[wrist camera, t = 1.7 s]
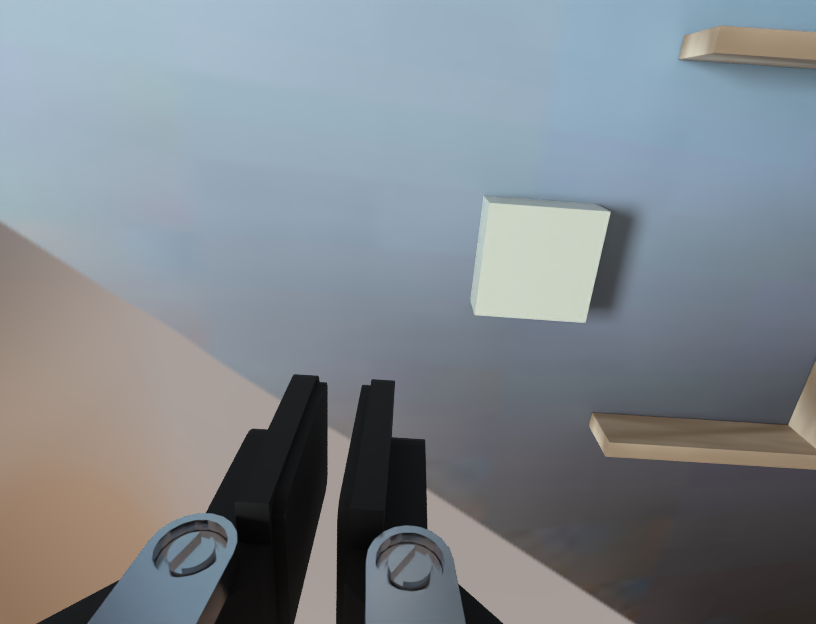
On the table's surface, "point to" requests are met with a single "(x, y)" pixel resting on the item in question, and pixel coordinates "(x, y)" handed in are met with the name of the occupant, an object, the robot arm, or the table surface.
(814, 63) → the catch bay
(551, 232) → the sage tile
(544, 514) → the table surface
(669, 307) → the table surface
